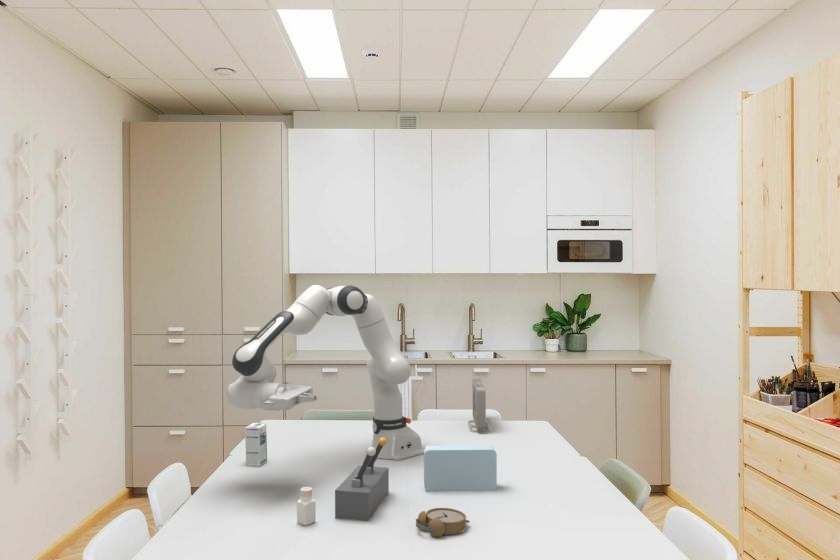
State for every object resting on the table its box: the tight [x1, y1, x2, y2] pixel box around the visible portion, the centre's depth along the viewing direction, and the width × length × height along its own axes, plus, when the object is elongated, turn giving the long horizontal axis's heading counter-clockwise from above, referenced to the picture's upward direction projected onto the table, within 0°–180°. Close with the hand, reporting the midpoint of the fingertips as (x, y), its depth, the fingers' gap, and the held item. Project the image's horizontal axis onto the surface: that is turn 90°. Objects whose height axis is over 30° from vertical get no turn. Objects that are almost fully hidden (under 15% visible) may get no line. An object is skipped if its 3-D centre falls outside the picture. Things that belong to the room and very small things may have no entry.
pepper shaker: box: [296, 486, 317, 526], centre depth 165 cm, size 4×4×10 cm
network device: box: [467, 378, 490, 433], centre depth 267 cm, size 26×9×20 cm, turn 179°
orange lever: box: [367, 437, 387, 468], centre depth 182 cm, size 3×3×12 cm
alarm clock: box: [415, 507, 471, 538], centre depth 160 cm, size 11×5×15 cm
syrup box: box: [244, 422, 268, 468], centre depth 215 cm, size 6×6×14 cm
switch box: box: [334, 464, 390, 522], centre depth 177 cm, size 10×22×10 cm, turn 168°
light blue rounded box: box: [423, 444, 498, 492], centre depth 191 cm, size 23×6×13 cm, turn 91°
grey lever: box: [356, 446, 376, 481], centre depth 171 cm, size 3×3×12 cm
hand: (315, 398), depth 188 cm, fingers closed
